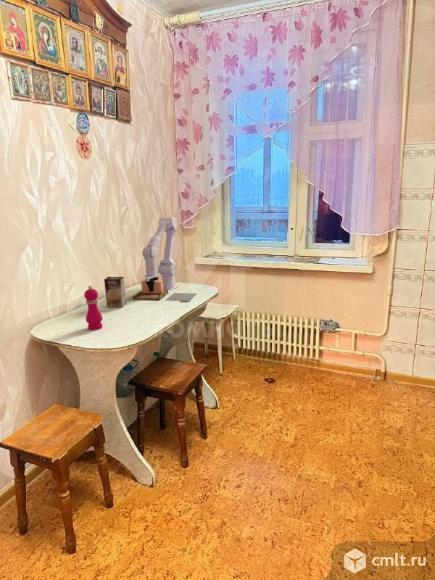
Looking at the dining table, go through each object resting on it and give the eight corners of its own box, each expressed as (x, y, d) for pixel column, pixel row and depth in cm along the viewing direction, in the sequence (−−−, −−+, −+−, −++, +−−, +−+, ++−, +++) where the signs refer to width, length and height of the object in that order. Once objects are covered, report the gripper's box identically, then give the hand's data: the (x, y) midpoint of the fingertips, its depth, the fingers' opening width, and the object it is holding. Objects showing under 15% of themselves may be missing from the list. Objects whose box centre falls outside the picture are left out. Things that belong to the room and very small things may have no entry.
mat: (174, 293, 235) (174, 292, 235) (196, 294, 232) (196, 293, 232) (164, 301, 220) (164, 300, 220) (189, 302, 217) (189, 301, 217)
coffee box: (106, 308, 211) (103, 279, 207) (110, 305, 217) (107, 276, 213) (123, 308, 210) (120, 279, 206) (127, 304, 216) (124, 276, 212)
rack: (143, 293, 238) (142, 289, 237) (168, 294, 234) (168, 290, 234) (133, 300, 224) (132, 296, 223) (159, 301, 221) (159, 297, 220)
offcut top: (141, 297, 228) (141, 295, 228) (158, 297, 227) (158, 295, 227) (139, 299, 224) (139, 297, 224) (156, 299, 223) (156, 297, 223)
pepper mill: (88, 331, 178) (82, 288, 173) (86, 326, 184) (80, 285, 179) (104, 328, 181) (99, 286, 175) (102, 324, 187) (97, 283, 182)
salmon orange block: (144, 294, 235) (143, 280, 233) (163, 295, 232) (162, 280, 230) (142, 296, 232) (141, 281, 229) (161, 296, 229) (160, 281, 227)
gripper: (149, 265, 236) (150, 287, 239) (139, 270, 222) (141, 293, 225) (160, 265, 234) (162, 287, 237) (151, 270, 220) (153, 293, 224)
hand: (152, 290), depth 231 cm, fingers closed on salmon orange block, 3 cm apart
